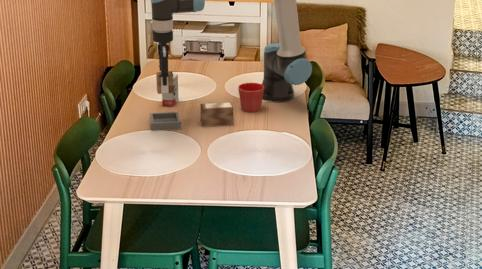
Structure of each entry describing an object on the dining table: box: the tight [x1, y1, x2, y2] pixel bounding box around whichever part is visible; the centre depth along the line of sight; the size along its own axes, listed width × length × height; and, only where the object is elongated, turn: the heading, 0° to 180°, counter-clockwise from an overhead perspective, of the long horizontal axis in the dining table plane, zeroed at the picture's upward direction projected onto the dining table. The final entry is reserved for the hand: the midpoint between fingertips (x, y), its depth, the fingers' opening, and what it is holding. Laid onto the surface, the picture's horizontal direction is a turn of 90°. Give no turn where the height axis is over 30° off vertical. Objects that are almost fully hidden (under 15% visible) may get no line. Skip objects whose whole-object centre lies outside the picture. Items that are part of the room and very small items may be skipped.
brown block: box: [155, 70, 174, 95], centre depth 260 cm, size 6×5×7 cm
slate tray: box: [149, 111, 182, 131], centre depth 266 cm, size 11×11×3 cm
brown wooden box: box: [199, 102, 234, 127], centre depth 267 cm, size 12×6×7 cm, turn 100°
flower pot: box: [237, 82, 264, 113], centre depth 281 cm, size 11×11×10 cm
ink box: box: [161, 73, 179, 107], centre depth 286 cm, size 9×5×12 cm, turn 168°
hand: (164, 90), depth 261 cm, fingers closed on brown block, 5 cm apart
